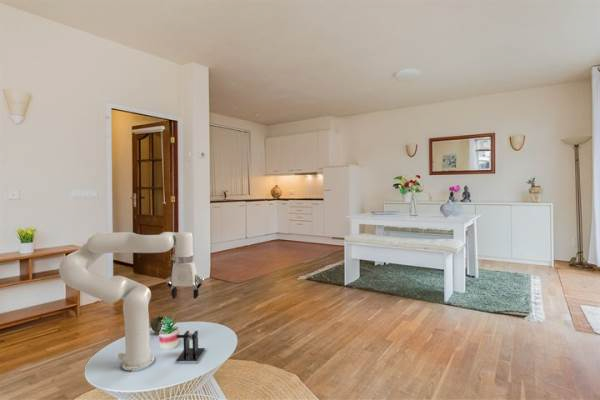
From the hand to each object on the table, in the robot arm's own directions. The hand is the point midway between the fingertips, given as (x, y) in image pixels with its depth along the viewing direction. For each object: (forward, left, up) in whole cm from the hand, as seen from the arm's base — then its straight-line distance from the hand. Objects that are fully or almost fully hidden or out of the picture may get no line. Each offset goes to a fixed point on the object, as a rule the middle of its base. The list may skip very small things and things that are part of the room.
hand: (185, 297), depth 151 cm
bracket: (+2, 0, -27) cm, 27 cm away
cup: (-24, +24, -27) cm, 43 cm away
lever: (+2, -5, -17) cm, 18 cm away
